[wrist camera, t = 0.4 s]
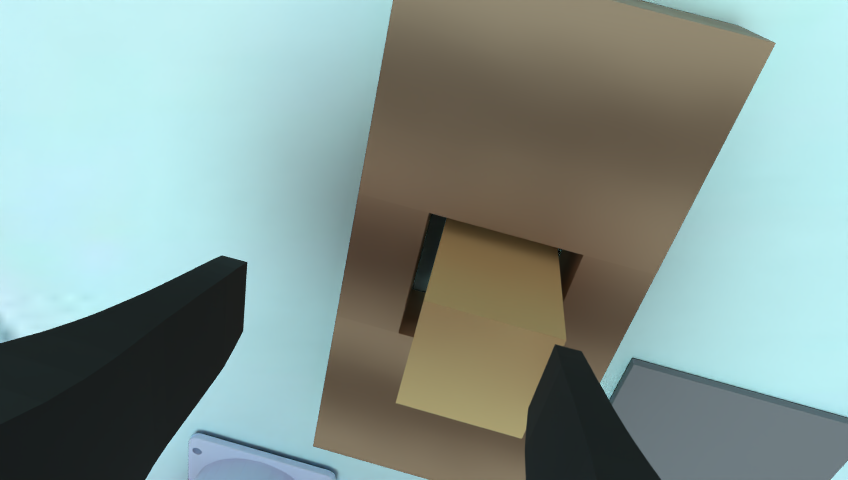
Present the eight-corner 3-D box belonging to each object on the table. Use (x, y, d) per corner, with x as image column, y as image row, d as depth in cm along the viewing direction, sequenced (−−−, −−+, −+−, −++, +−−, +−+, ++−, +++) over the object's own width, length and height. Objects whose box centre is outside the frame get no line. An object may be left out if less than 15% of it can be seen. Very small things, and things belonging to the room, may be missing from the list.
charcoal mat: (747, 559, 28) (750, 567, 28) (553, 503, 29) (553, 510, 28) (869, 424, 23) (873, 431, 23) (632, 358, 24) (633, 364, 23)
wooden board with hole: (533, 454, 27) (534, 509, 25) (333, 397, 28) (312, 446, 25) (738, 25, 17) (775, 43, 15) (421, -57, 18) (402, -54, 15)
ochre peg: (523, 306, 23) (521, 439, 17) (429, 280, 24) (395, 403, 18) (555, 223, 21) (566, 340, 15) (452, 195, 22) (423, 300, 16)
